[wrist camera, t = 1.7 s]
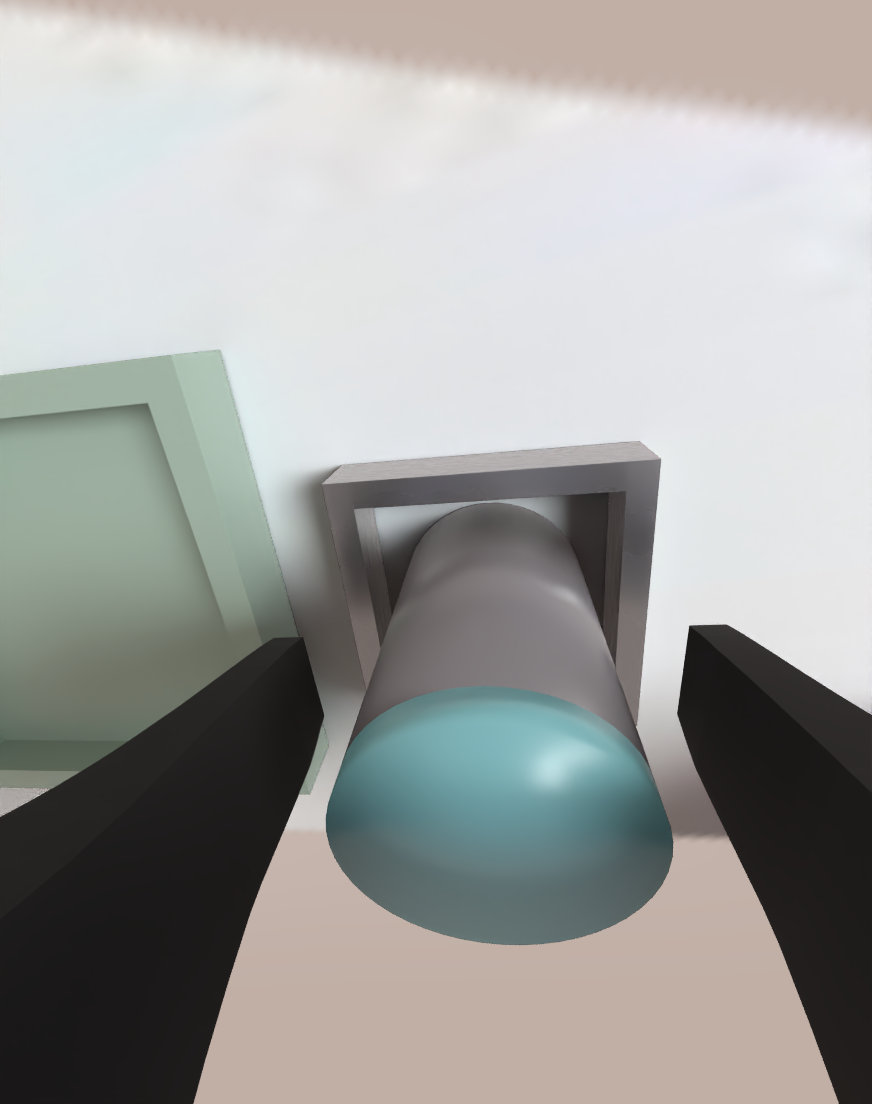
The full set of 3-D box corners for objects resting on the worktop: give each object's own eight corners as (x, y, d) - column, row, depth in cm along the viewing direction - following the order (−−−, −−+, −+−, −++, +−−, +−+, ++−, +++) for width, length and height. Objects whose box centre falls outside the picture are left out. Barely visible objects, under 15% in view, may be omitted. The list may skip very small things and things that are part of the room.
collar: (639, 441, 11) (660, 458, 9) (622, 685, 13) (636, 725, 12) (342, 465, 12) (321, 484, 10) (384, 687, 14) (373, 725, 13)
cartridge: (612, 605, 12) (733, 899, 6) (471, 675, 14) (452, 970, 8) (520, 467, 11) (553, 663, 5) (375, 561, 13) (258, 803, 6)
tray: (220, 349, 11) (170, 355, 9) (328, 745, 16) (310, 794, 14) (-210, 401, 12) (-316, 413, 11) (12, 743, 17) (-37, 786, 16)
